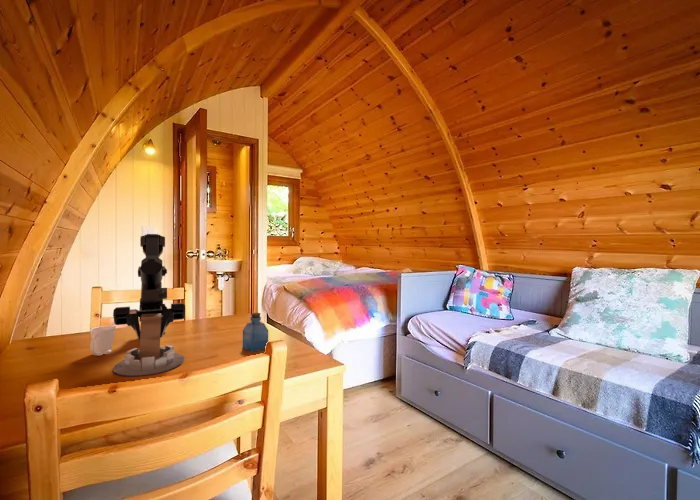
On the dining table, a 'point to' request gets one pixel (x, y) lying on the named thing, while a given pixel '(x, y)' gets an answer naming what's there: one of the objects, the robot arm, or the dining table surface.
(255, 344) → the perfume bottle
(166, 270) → the robot arm
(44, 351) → the dining table surface
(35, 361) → the dining table surface
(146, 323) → the walnut block
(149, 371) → the castellated ring
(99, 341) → the cup
